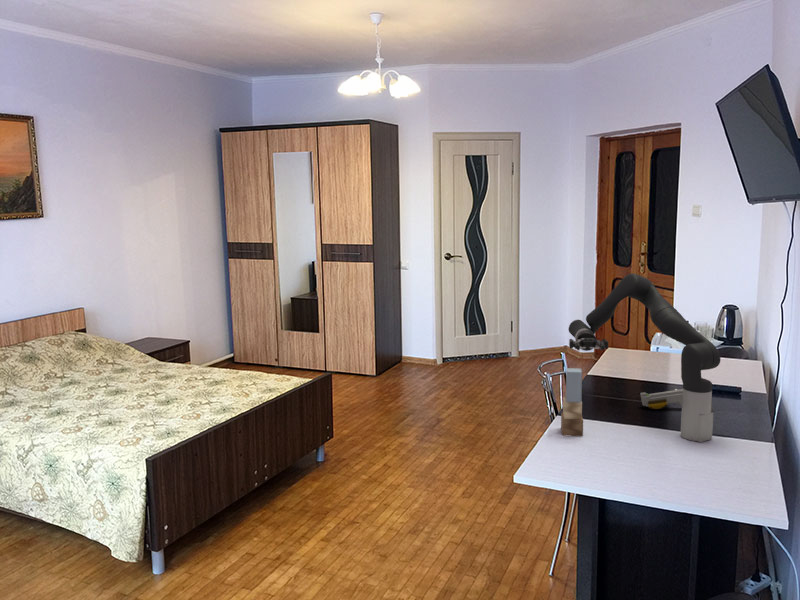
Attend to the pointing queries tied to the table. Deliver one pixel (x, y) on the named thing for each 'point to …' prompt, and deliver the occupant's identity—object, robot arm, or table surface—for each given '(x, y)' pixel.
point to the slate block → (573, 385)
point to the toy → (662, 399)
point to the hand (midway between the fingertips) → (590, 347)
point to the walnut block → (571, 426)
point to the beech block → (572, 410)
